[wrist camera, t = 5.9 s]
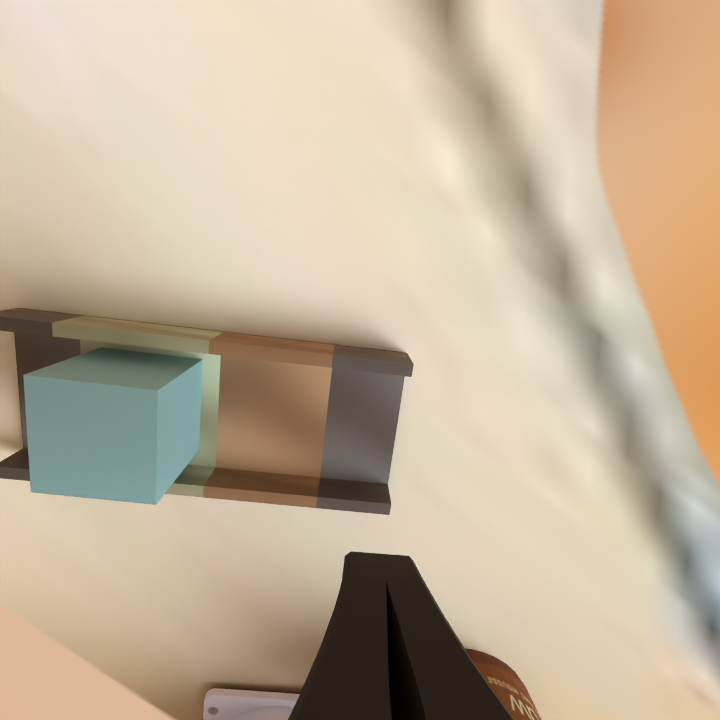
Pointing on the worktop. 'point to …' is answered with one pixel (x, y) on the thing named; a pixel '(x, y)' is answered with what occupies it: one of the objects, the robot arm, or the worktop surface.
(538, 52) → the worktop surface
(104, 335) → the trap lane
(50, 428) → the teal block
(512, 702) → the food container
